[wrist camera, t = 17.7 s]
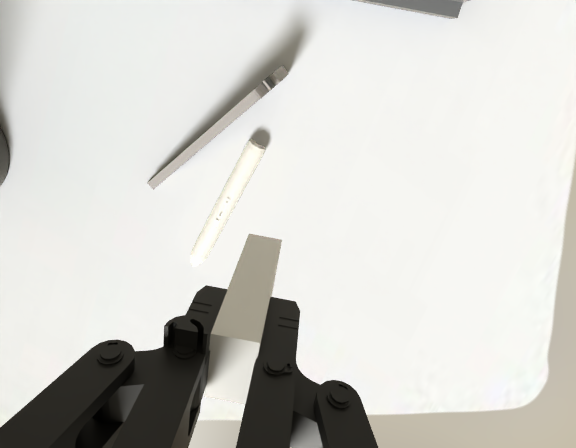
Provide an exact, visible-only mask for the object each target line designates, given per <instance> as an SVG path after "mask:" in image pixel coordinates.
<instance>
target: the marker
mask: <svg viewBox="0 0 576 448" xmlns="http://www.w3.org/2000/svg"><path fill="white" fill-rule="evenodd" d="M252 141H253V140H252V139H250V140H249V142H248V143H247V144H246V146H245V148H244V150H243V152H242V154H241V156H240V158H239V160H238V162H237V164H236V166H235V168H234V170H233V172H232V174H231V175H230V177H229V179H228V181H227V183H226V185H225V187H224V189H223V191H222V193H221V195H220V197H219V199H218V201H217V203H216V204H215V206H214V208H213V210H212V212H211V214H210V216H209V218H208V220H207V222H206V224H205V226H204V228H203V230H202V232H201V233H200V235H199V237H198V239H197V241H196V243H195V245H194V247H193V249H192V252H191V257H190V259H191V264H192V266H193V267H194V266H198V265H200V264H201V263H203V262H204V261H205V260H206V258H207V257H208V255H209V253H210V252H211V250H212V248H213V246H214V244H215V242H216V241H217V239H218V237H219V235H220V233H221V231H222V229H223V228H224V226H225V224H226V222H227V220H228V218H229V217H230V215H231V213H232V211H233V209H234V207H235V206H236V204H237V202H238V200H239V198H240V196H241V195H242V193H243V191H244V189H245V187H246V185H247V184H248V182H249V180H250V178H251V176H252V174H253V173H254V171H255V169H256V167H257V165H258V163H259V162H260V160H261V158H262V156H263V154H264V152H265V150H266V148H265V146H264V147H263V146H262V145H258V144H257V143H256V142H255V141H253V142H252ZM254 142H255V143H254ZM261 146H262V147H261Z"/></svg>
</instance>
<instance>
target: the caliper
mask: <svg viewBox="0 0 576 448" xmlns="http://www.w3.org/2000/svg"><path fill="white" fill-rule="evenodd" d="M288 74H289V73H288V72H287V71H286V69H285V68H284V67H283V65H282V66H281V67H279V68H278V69H277V70H276V71H275V72H273V73H272V74H271V75H270V76H269V77H268V78H266V79H265V80H264V81H263V82H262V83H261V84H260V85H258V86H257V87H256V88H255V89H254V90H253V91H252V92H250V93H249V94H248V95H247V96H246V97H245V98H244V99H242V100H241V101H240V102H239V103H238V104H237V105H236V106H235V107H233V108H232V109H231V110H230V111H229V112H228V113H227V114H225V115H224V116H223V117H222V118H221V119H220V120H219V121H217V122H216V123H215V124H214V125H213V126H212V127H211V128H209V129H208V130H207V131H206V132H205V133H204V134H203V135H201V136H200V137H199V138H198V139H197V140H196V141H195V142H193V143H192V144H191V145H190V146H189V147H188V148H187V149H185V150H184V151H183V152H182V153H181V154H180V155H179V156H178V157H176V158H175V159H174V160H173V161H172V162H171V163H170V164H168V165H167V166H166V167H165V168H164V169H163V170H162V171H160V172H159V173H158V174H157V175H156V176H155V177H154V178H152V179H151V180H150V181H149V182H148V184H149V185H150V186H151V187H152V188H153V189H154V188H156V187H157V186H158V185H159V184H160V183H162V182H163V181H164V180H165V179H166V178H167V177H169V176H170V175H171V174H172V173H173V172H175V171H176V170H177V169H178V168H179V167H180V166H182V165H183V164H184V163H185V162H186V161H187V160H189V159H190V158H191V157H192V156H193V155H195V154H196V153H197V152H198V151H199V150H200V149H202V148H203V147H204V146H205V145H206V144H207V143H209V142H210V141H211V140H212V139H213V138H215V137H216V136H217V135H218V134H219V133H220V132H222V131H223V130H224V129H225V128H226V127H227V126H229V125H230V124H231V123H232V122H233V121H235V120H236V119H237V118H238V117H239V116H241V115H242V114H243V113H244V112H245V111H246V110H248V109H249V108H250V107H251V106H252V105H253V104H255V103H256V102H257V101H258V100H259V99H261V98H262V97H263V96H264V95H265V94H267V93H268V92H269V91H270V90H271V89H272V88H274V87H275V86H276V85H277V84H278V83H279V82H280V81H282V80H283V79H284V78H285V77H286V76H287V75H288Z"/></svg>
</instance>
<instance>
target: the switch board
mask: <svg viewBox="0 0 576 448" xmlns="http://www.w3.org/2000/svg"><path fill="white" fill-rule="evenodd" d="M354 1H359V2H364V3H370V4H375V5H380V6H386V7H391V8H396V9H402V10H407V11H412V12H418V13H423V14H428V15H434V16H439V17H444V18H450V19H453V18H458V15H459V12H460V9H461V6H462V2H466V1H470V0H354Z"/></svg>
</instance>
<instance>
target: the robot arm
mask: <svg viewBox="0 0 576 448" xmlns="http://www.w3.org/2000/svg"><path fill="white" fill-rule="evenodd" d="M8 165H9V153H8V147H7V143H6V139H5V136H4V134H3V131H2V129H1V127H0V186H1V184H2V183H3V181H4V179H5V177H6V174H7V171H8ZM281 242H282V240H279V239H274V238H269V237H263V236H258V235H253V234H249V235H248V238H247V241H246V243H245V246H244V248H243V251H242V254H241V256H240V259H239V261H238V264H237V267H236V269H235V272H234V274H233V277H232V280H231V282H230V285H229V287H228V290H227V289H222V288H217V287H211V286H205V287H203V288H202V289H201V290H199V291H198V292H197V293H196V295H195V297H194V299H193V301H192V303H191V305H190V307H189V310H188V311H187V313H186V315H184V316H179V317H175V318H173V319H171V320H169V321H168V322H167V324H166V325H165V326H164V347H162V348H159V349H156V350H149V351H136V352H135V351H134V349H133V347H132V345H130V344H129V343H127V342H126V341H121V340H108V341H105V342H102V343H99V344H98V345H96V346H94V347H93V348H91V349H90V350H89V351H88V352H87V353H86V354H85V355H83V356H82V357H81V358H80V359H79V360H78V361H77V362H75V363H74V364H73V365H72V366H71V367H70V368H68V369H67V370H66V371H65V372H64V373H63V374H62V375H60V376H59V377H58V378H57V379H56V380H55V381H53V382H52V383H51V384H50V385H49V386H48V387H47V388H45V389H44V390H43V391H42V392H41V393H40V394H39V395H37V396H36V397H35V398H34V399H33V400H32V401H30V402H29V403H28V404H27V405H26V406H25V407H24V408H22V409H21V410H20V411H19V412H18V413H17V414H15V415H14V416H13V417H12V418H11V419H10V420H9V421H7V422H6V423H5V424H4V425H3V426H2V427H0V448H188V446H189V443H190V440H191V437H192V434H193V431H194V428H195V425H196V422H197V419H198V416H199V413H200V405H201V399H202V396H203V393H204V391H205V394H204V397H208V398H213V399H218V400H223V401H229V402H234V403H239V404H244V405H245V409H244V413H243V418H242V423H241V427H240V432H239V436H238V441H237V446H236V448H290V447H291V448H378V446H377V443H376V440H375V438H374V435H373V432H372V430H371V427H370V424H369V421H368V418H367V415H366V413H365V410H364V407H363V404H362V402H361V399H360V397H359V395H358V393H357V392H356V390H354V389H353V388H352V387H351V386H350V385H348V384H346V383H344V382H342V381H336V380H331V381H326V382H324V383H323V384H321V385H319V384H317V383H315V382H313V381H311V380H310V379H308V378H306V377H305V376H304V375H303V374H302V373H301V372H300V370H299V369H298V367H297V364H296V350H297V339H298V328H299V317H300V310H299V308H298V306H297V304H296V302H295V301H290V300H285V299H279V298H274V297H271V296H272V291H273V286H274V280H275V275H276V269H277V264H278V259H279V253H280V248H281Z"/></svg>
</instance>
